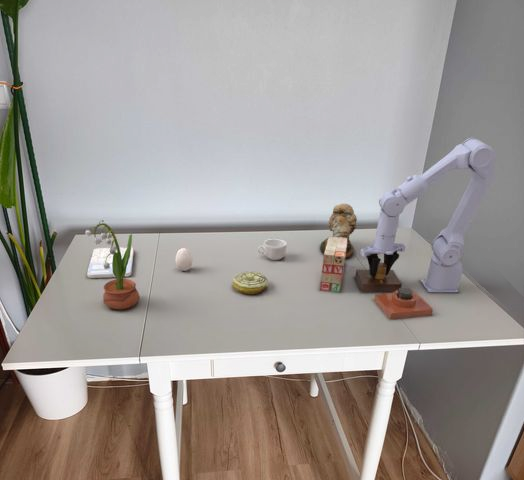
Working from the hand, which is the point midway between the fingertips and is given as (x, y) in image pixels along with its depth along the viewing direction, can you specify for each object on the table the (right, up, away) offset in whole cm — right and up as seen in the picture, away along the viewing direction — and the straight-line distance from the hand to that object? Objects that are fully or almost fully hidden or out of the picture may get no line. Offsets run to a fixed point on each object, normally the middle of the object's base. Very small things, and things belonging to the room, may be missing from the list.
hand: (378, 274), depth 155 cm
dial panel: (0, -3, +2) cm, 4 cm away
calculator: (-86, +4, +8) cm, 86 cm away
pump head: (+5, -8, -11) cm, 15 cm away
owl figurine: (-10, +12, +24) cm, 28 cm away
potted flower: (-77, -10, -13) cm, 79 cm away
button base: (+5, -11, -9) cm, 15 cm away
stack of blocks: (-13, 0, +6) cm, 15 cm away
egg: (-62, +2, +7) cm, 62 cm away
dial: (0, -1, 0) cm, 1 cm away
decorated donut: (-40, -4, -2) cm, 40 cm away
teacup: (-33, +8, +17) cm, 38 cm away
